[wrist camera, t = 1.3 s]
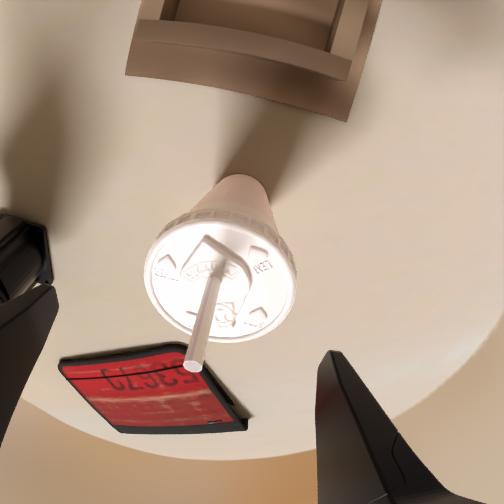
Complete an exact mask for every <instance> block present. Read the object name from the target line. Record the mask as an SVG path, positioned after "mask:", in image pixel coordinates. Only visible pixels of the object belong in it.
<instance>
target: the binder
mask: <svg viewBox="0 0 504 504" xmlns="http://www.w3.org/2000/svg"><path fill="white" fill-rule="evenodd" d="M187 349H188V347H186V346H183V345H180V344H166V345H163V346H161V347H157V348H152V349H149V350H145V351H141V352H136V353H130V354H124V355H118V356H108V357H103V358H96V359H89V360H79V361H73V360H71V359H63V360H60V362H59V364H58V369H59V371H60V373H61V374H62V375H63V376H64V377H65V378H66V380H68V382H69V383H70V384H71V385H72V386H73V387H74V388H75V389H76V390H77V392H78V393H79V394H80V395H81V396H82V397H83V398H84V399H85V400H86V401H87V402H88V403H89V404H90V405H91V406H92V408H93V409H95V410H96V411H97V412H98V413H99V414H100V415H101V416H102V417H103V418H104V419H105V420H106V421H107V422H108V423H109V424H110V425H111V426H112V427H114V428H115V429H116V430H117V431H118V432H120V433H127V434H202V433H222V432H233V431H246V430H247V429H248V419H239V418H238V417H237V415H236V414H235V413H234V411H233V410H232V408H231V407H230V406H229V404H230V405H233V406H235V405H234V403H233V402H232V400H231V399H230V398H229V396H228V395H227V394H226V393H225V391H224V390H223V389H222V387H221V386H220V385H219V384H218V382H217V381H216V380H215V379H214V377H213V376H212V375H211V373H210V372H209V371H208V370H207V369H206V367H205V366H204V365H203V366H202V370H201V371H199V372H191V371H188V370H187V369H185V368H184V366H183V364H184V360H185V356H186V353H187ZM228 403H229V404H228Z"/></svg>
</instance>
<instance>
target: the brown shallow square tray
mask: <svg viewBox="0 0 504 504" xmlns="http://www.w3.org/2000/svg"><path fill="white" fill-rule="evenodd" d="M381 2H382V0H142V2H141V6H140V9H139V13H138V17H137V21H136V25H135V29H134V33H133V37H132V42H131V46H130V51H129V56H128V61H127V66H126V71H125V75H127V76H138V77H148V78H157V79H165V80H172V81H179V82H186V83H192V84H198V85H204V86H210V87H215V88H220V89H225V90H230V91H235V92H240V93H244V94H249V95H253V96H257V97H261V98H266V99H270V100H273V101H277V102H281V103H285V104H289V105H292V106H296V107H299V108H303V109H306V110H309V111H313V112H316V113H319V114H322V115H325V116H329V117H332V118H335V119H338V120H341V121H344V122H347V119H348V116H349V113H350V109H351V106H352V103H353V100H354V97H355V93H356V90H357V87H358V84H359V80H360V77H361V74H362V70H363V67H364V63H365V60H366V57H367V53H368V50H369V46H370V43H371V39H372V35H373V32H374V28H375V24H376V21H377V17H378V13H379V9H380V6H381Z"/></svg>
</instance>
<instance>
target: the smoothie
mask: <svg viewBox="0 0 504 504" xmlns="http://www.w3.org/2000/svg"><path fill="white" fill-rule="evenodd" d="M296 274H297V271H296V267H295V263H294V259H293V255H292V253H291V251H290V250H289V248H288V246H287V245H286V243H285V241H284V240H283V238H282V237H281V236H280V235H279V233H278V230H277V227H276V223H275V220H274V217H273V214H272V210H271V207H270V204H269V201H268V197H267V194H266V191H265V189H264V187H263V186H262V185H261V183H260V182H259V181H257V180H256V179H254V178H253V177H251V176H248V175H244V174H234V175H230V176H227V177H225V178H224V179H222V180H221V181H220V182H219V183H218V184H217V185H216V186H215V187H214V188H213V189H212V190H211V191H210V192H209V193H208V194H207V195H206V196H205V197H204V198H203V199H202V200H201V201H200V202H199V203H198V204H197V205H196V206H195V207H194V208H193V209H192V210H191V211H190V212H189V213H185V214H183V215H181V216H180V217H178V218H176V219H175V220H173V221H171V222H170V223H168V224H167V225H166V226H165V228H164V229H163V230H162V231H161V232H160V233H159V234H158V235H157V237H156V239H155V241H154V243H153V246H152V247H151V249H150V251H149V253H148V256H147V258H146V262H145V267H144V281H145V286H146V290H147V292H148V295H149V297H150V299H151V301H152V303H153V305H154V306H155V307H156V309H157V310H158V311H159V312H160V314H161V315H162V316H163V317H164V318H165V319H166V320H168V321H169V322H170V323H171V324H172V325H174V326H175V327H177V328H178V329H180V330H181V331H183V332H186V333H188V334H190V335H191V338H190V342H189V345H188V349H187V353H186V356H185V360H184V364H183V366H184V368H185V369H187V370H188V371H191V372H199V371H201V370H202V366H203V362H204V357H205V352H206V348H207V343H208V341H214V342H224V343H233V342H242V341H247V340H251V339H254V338H257V337H260V336H262V335H264V334H266V333H268V332H270V331H271V330H273V329H274V328H275V327H277V326H278V325H279V324H280V323H281V322H282V321H283V320H284V319H285V318H286V316H287V315H288V313H289V312H290V310H291V308H292V305H293V303H294V299H295V294H296Z"/></svg>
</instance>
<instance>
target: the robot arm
mask: <svg viewBox="0 0 504 504" xmlns="http://www.w3.org/2000/svg"><path fill="white" fill-rule="evenodd" d="M37 283H40V284H41V285H39V286H37V287H35V288H33V287H34V286H35V285H36V284H37ZM52 283H53V279H52V273H51V267H50V260H49V252H48V245H47V236H46V229H45V227H44V226H42V225H40V224H36V223H33V222H29V221H26V220H24V219H20V218H17V217H13V216H10V215H5V214H1V213H0V447H1V443H2V441H3V438H4V435H5V433H6V430H7V428H8V425H9V422H10V420H11V417H12V415H13V412H14V410H15V407H16V405H17V403H18V400H19V398H20V396H21V393H22V391H23V389H24V387H25V385H26V382H27V380H28V378H29V376H30V374H31V372H32V370H33V367H34V365H35V363H36V361H37V359H38V357H39V355H40V353H41V351H42V349H43V347H44V345H45V342H46V340H47V337H48V334H49V332H50V329H51V327H52V325H53V322H54V320H55V317H56V315H57V313H58V309H59V303H58V298H57V294H56V289H55V288H54V286H52V285H51V284H52ZM32 288H33V289H32ZM315 425H316V448H317V480H318V504H485V503H482V502H478V501H474V500H471V499H468V498H465V497H462V496H458V495H456V494H454V493H452V492H450V491H449V490H447V489H446V488H445V487H444V486H443V485H442V484H441V483H440V482H439V481H438V480H437V479H436V478H435V476H434V475H433V474H432V473H431V472H430V471H429V470H428V468H427V467H426V466H425V465H424V464H423V463H422V462H421V461H420V459H419V458H418V457H417V455H416V454H415V453H414V452H413V451H412V449H411V448H410V447H409V445H408V444H407V443H406V441H405V440H404V438H403V437H402V436H401V434H400V433H399V432H398V430H397V429H396V427H395V426H394V424H393V423H392V422H391V420H390V419H389V417H388V416H387V415H386V413H385V412H384V410H383V409H382V408H381V406H380V405H379V403H378V402H377V401H376V399H375V398H374V396H373V395H372V394H371V392H370V391H369V389H368V388H367V387H366V385H365V384H364V382H363V381H362V380H361V378H360V377H359V376H358V374H357V373H356V371H355V370H354V369H353V367H352V366H351V364H350V363H349V362H348V360H347V359H346V358H345V356H344V355H343V353H342V352H340V351H334V350H329V351H327V353H326V355H325V356H324V358H323V360H322V361H321V363H320V365H319V367H318V372H317V389H316V404H315Z"/></svg>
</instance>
